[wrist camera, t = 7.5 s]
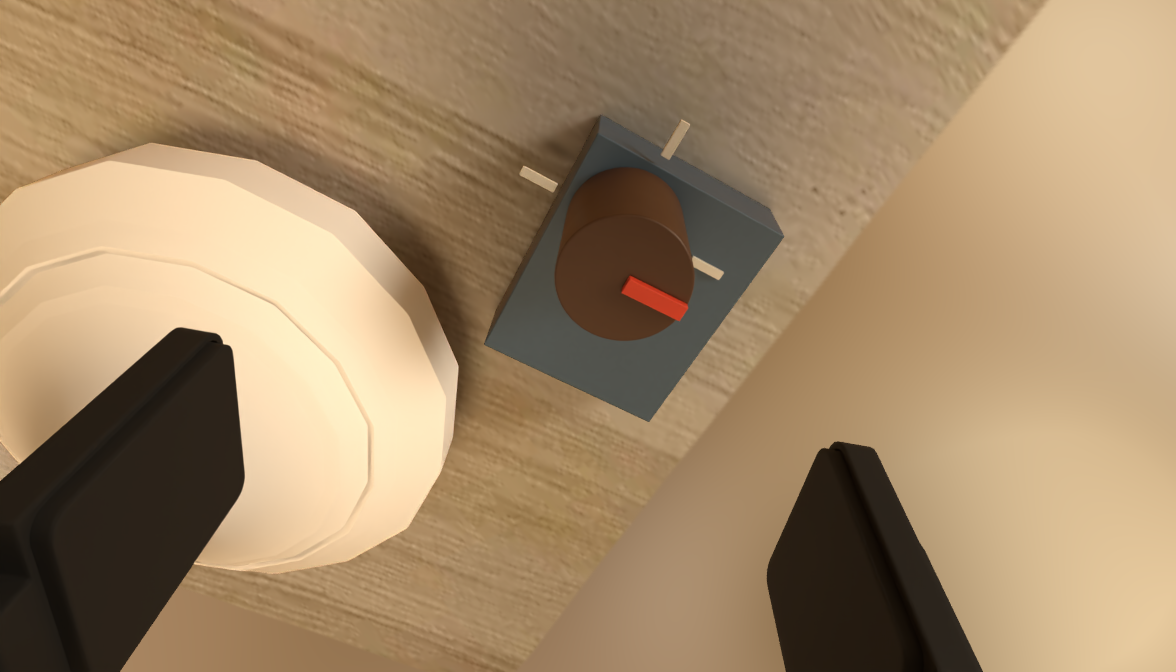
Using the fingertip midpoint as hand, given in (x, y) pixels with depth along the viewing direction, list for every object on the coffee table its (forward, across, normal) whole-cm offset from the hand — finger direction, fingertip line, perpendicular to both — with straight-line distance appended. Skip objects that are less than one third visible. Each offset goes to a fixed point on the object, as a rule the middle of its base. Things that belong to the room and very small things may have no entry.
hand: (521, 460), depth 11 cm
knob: (+16, -2, +2) cm, 16 cm away
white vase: (+19, +13, +12) cm, 26 cm away
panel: (+19, -2, +4) cm, 20 cm away
